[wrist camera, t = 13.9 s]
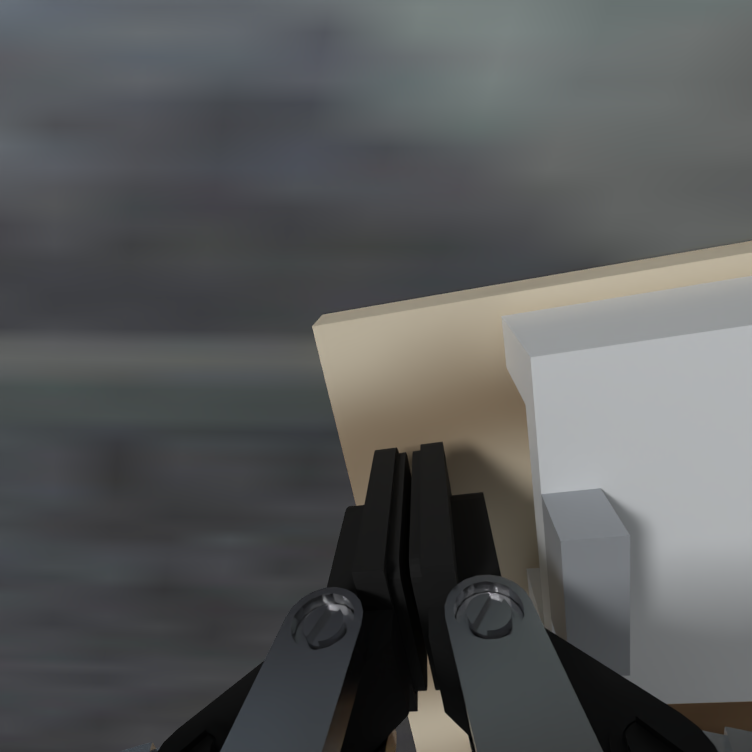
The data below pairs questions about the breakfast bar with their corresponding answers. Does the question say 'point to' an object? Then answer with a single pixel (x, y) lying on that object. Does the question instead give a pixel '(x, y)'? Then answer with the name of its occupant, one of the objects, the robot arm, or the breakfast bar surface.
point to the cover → (644, 482)
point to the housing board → (479, 411)
